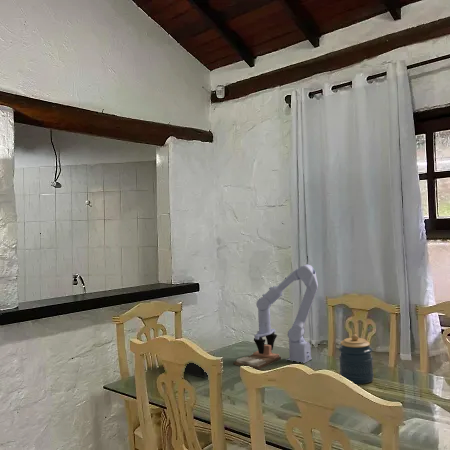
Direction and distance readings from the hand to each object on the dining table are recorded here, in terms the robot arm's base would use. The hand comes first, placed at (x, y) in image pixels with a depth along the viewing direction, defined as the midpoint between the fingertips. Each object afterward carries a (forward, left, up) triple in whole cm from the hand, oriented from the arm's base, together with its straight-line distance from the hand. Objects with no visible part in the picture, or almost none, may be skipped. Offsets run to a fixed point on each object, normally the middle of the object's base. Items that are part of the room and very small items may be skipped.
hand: (265, 351), depth 215 cm
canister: (-47, +5, -3) cm, 47 cm away
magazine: (+18, +35, -3) cm, 39 cm away
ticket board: (0, +7, -3) cm, 8 cm away
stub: (0, 0, -2) cm, 2 cm away
